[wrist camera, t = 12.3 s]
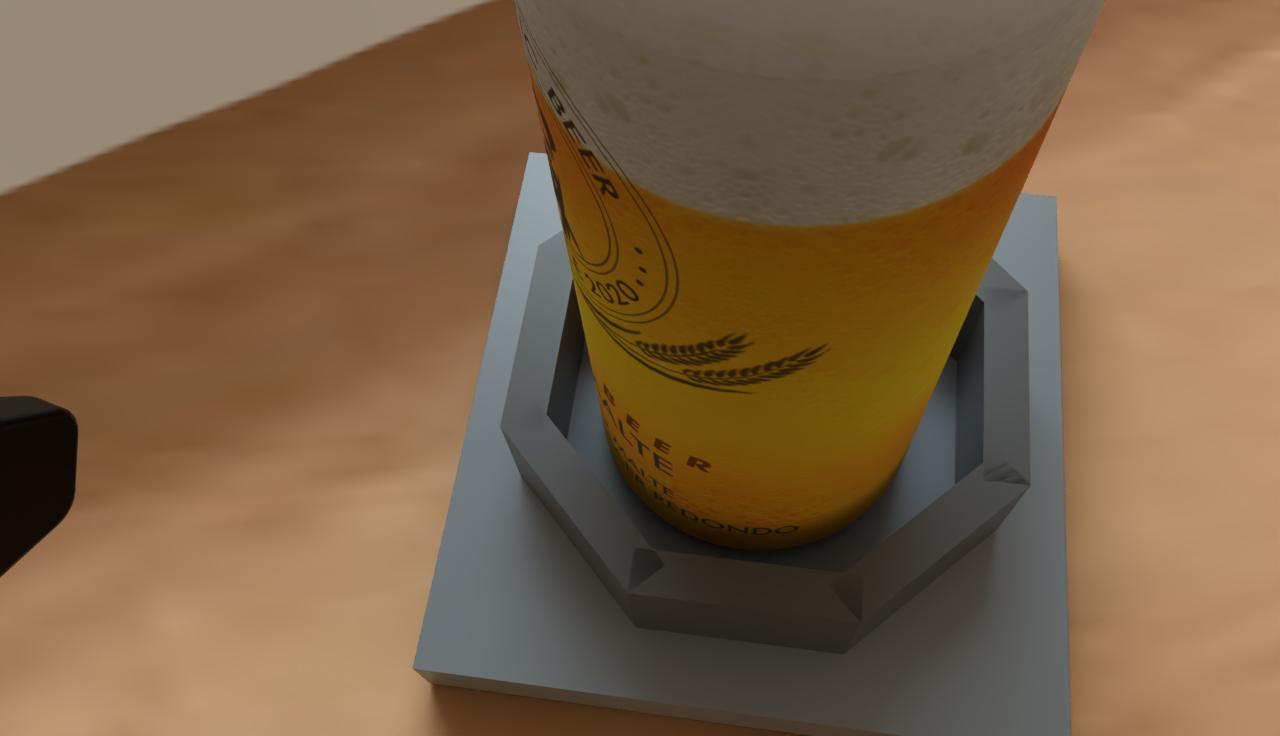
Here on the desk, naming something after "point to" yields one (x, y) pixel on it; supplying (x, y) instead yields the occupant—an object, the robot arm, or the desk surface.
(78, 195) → the desk surface
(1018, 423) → the collar dock
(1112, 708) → the desk surface
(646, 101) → the beer can
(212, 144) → the desk surface
